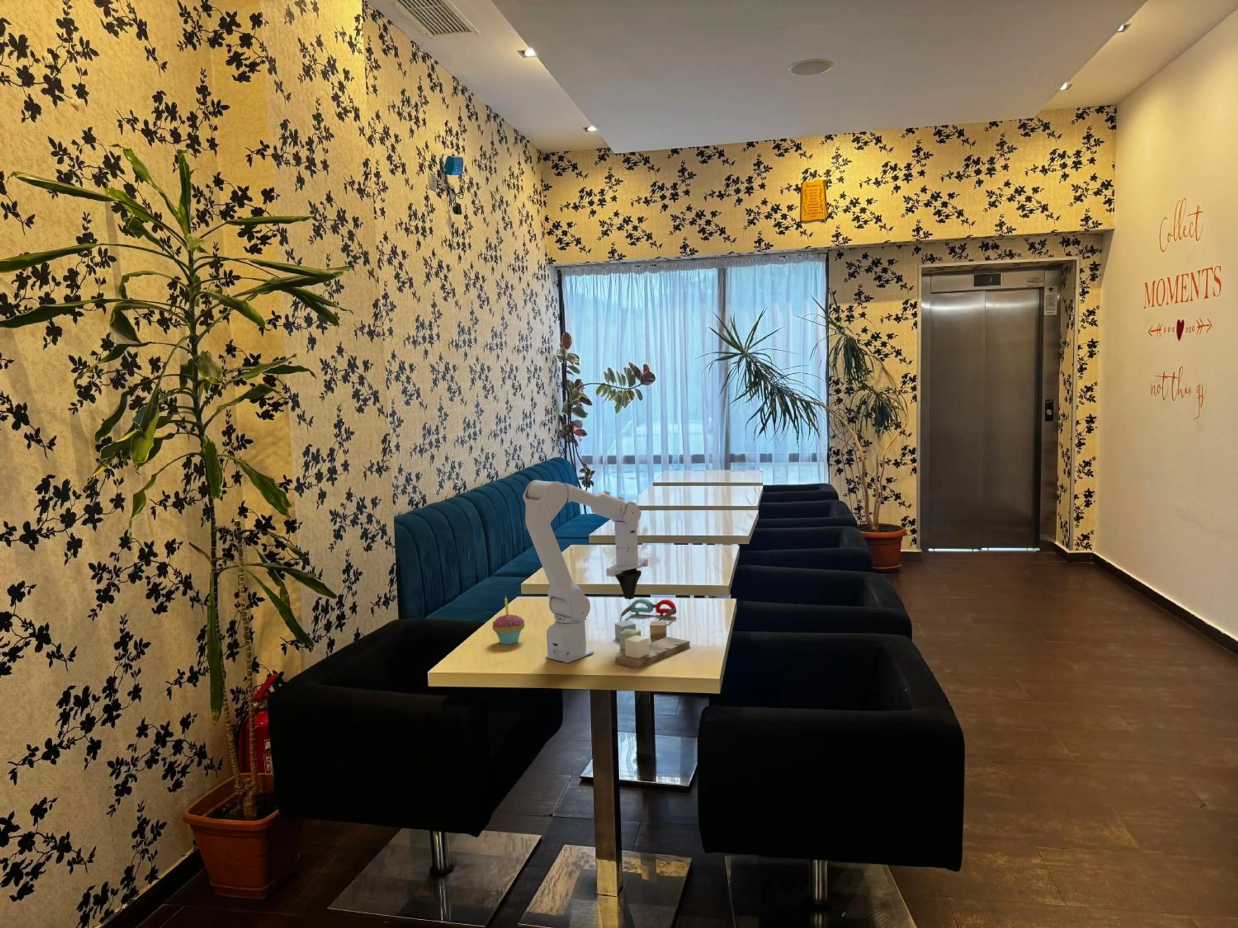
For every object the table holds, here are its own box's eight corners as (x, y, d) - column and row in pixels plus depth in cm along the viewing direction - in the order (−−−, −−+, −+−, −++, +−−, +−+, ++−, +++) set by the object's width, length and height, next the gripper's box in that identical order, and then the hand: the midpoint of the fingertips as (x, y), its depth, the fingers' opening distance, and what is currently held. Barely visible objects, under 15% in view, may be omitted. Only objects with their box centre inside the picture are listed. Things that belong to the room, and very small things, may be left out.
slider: (638, 658, 198) (637, 641, 198) (625, 655, 201) (624, 639, 201) (649, 654, 201) (648, 637, 201) (636, 651, 204) (635, 634, 204)
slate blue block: (622, 641, 218) (622, 626, 218) (615, 638, 222) (614, 623, 221) (636, 638, 220) (635, 623, 220) (628, 635, 224) (628, 620, 223)
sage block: (634, 650, 210) (633, 634, 210) (620, 648, 212) (619, 633, 212) (641, 645, 214) (640, 630, 214) (627, 644, 216) (626, 628, 215)
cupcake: (490, 639, 225) (487, 595, 224) (521, 635, 228) (519, 591, 227) (497, 648, 217) (494, 602, 216) (529, 643, 220) (527, 598, 219)
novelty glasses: (678, 616, 241) (677, 599, 241) (661, 630, 227) (660, 612, 227) (632, 614, 246) (632, 597, 246) (613, 627, 232) (612, 610, 232)
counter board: (638, 668, 196) (637, 661, 196) (615, 663, 201) (615, 656, 200) (689, 646, 211) (689, 640, 211) (667, 642, 215) (667, 635, 215)
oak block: (665, 640, 218) (665, 625, 217) (650, 640, 218) (649, 625, 218) (666, 635, 222) (666, 620, 221) (651, 635, 222) (650, 621, 222)
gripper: (620, 553, 211) (622, 606, 212) (656, 543, 222) (658, 594, 223) (599, 550, 215) (601, 603, 216) (635, 541, 226) (637, 591, 227)
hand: (629, 598), depth 220 cm, fingers closed
